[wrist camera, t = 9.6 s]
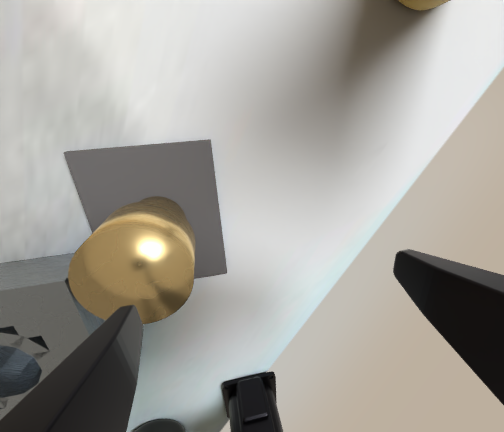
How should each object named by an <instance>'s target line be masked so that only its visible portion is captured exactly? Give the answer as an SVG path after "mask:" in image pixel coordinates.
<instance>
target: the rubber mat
mask: <svg viewBox="0 0 504 432" xmlns="http://www.w3.org/2000/svg"><path fill="white" fill-rule="evenodd" d="M64 155H65V158H66V161H67V163H68V166H69V169H70V172H71V174H72V177H73V180H74V183H75V185H76V188H77V191H78V194H79V197H80V199H81V202H82V205H83V208H84V210H85V213H86V216H87V219H88V221H89V224H90V227H91V230H92V232H93V233H94V232H95V230H96V229H97V228H98V227H99V226H100V225H101V224H102V223H103V222H104V221H105V220H106V219H107V218H108V217H109V216H110V215H111V214H112V213H113V212H114V211H116V210H117V209H119V208H120V207H123V206H125V205H127V204H131V203H135V202H139V201H141V200H142V199H145V198H148V197H152V196H160V197H165V198H168V199H171V200H173V201H174V202H176V203H177V204H178V205H179V206H180V207H181V208H182V209H183V211H184V213H185V215H186V220H187V221H188V222H189V224H190V226H191V227H192V229H193V232H194V235H195V242H196V243H195V263H194V279H195V278H201V277H208V276H214V275H220V274H226V273H227V267H226V259H225V251H224V243H223V235H222V227H221V220H220V212H219V204H218V196H217V188H216V180H215V172H214V164H213V156H212V148H211V140H199V141H187V142H175V143H163V144H151V145H139V146H127V147H115V148H103V149H91V150H78V151H67V152H64Z"/></svg>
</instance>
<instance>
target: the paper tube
mask: <svg viewBox="0 0 504 432" xmlns="http://www.w3.org/2000/svg"><path fill="white" fill-rule="evenodd" d="M398 1H399V2H401V3H402V4H403V5H405V6H406V7H408V8H411V9H414V10H428V9H431V8H435V7H437V6H439V5H441V4H444V3H446V2H448V1H450V0H398Z"/></svg>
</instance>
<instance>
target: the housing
mask: <svg viewBox="0 0 504 432" xmlns="http://www.w3.org/2000/svg"><path fill="white" fill-rule="evenodd" d="M74 254H75V253H72V254H65V255H57V256H50V257H43V258H36V259H29V260H22V261H14V262H7V263H0V420H1V419H2V418H3V417H4V416H5V415H6V414H7V413H8V412H9V411H10V410H11V409H12V408H13V407H14V406H16V405H17V404H18V403H19V402H20V401H21V400H22V399H23V398H24V397H25V396H26V395H27V394H28V393H29V392H30V391H31V390H32V389H34V388H35V387H36V386H37V385H38V384H39V383H40V382H41V381H42V380H43V379H44V378H45V377H46V376H47V375H48V374H49V373H50V372H52V371H53V370H54V369H55V368H56V367H57V366H58V365H59V364H60V363H61V362H62V361H63V360H64V359H65V358H66V357H67V356H68V355H70V354H71V353H72V352H73V351H74V350H75V349H76V348H77V347H78V346H79V345H80V344H81V343H82V342H83V341H84V340H85V339H86V338H87V337H89V336H90V335H91V334H92V333H93V332H94V331H95V330H96V329H97V328H98V327H99V326H100V325H101V324H102V323H103V322H104V321H105V320H104V319H101V318H99V317H97V316H95V315H94V314H92V313H90V312H89V311H88V310H86V309H85V308H84V307H83V306H82V305H81V304H80V303H79V302H78V301H77V299H76V298H75V297H74V295H73V293H72V291H71V288H70V285H69V280H68V270H69V265H70V262H71V259H72V257H73V256H74Z"/></svg>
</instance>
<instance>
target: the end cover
mask: <svg viewBox="0 0 504 432" xmlns="http://www.w3.org/2000/svg"><path fill="white" fill-rule="evenodd" d="M195 243H196V242H195V235H194V232H193V229H192V227H191V226H190V224H189V222H188V221H187V220H186V215H185V213H184V211H183V209H182V208H181V207H180V206H179V205H178V204H177V203H176V202H174V201H173V200H171V199H168V198H165V197H160V196H152V197H148V198H145V199H142V200H141V201H139V202H135V203H131V204H127V205H125V206H123V207H120V208H119V209H117V210H116V211H114V212H113V213H112V214H111V215H110V216H109V217H108V218H107V219H106V220H105V221H104V222H103V223H102V224H101V225H100V226H99V227H98V228H97V229H96V230H95V232H94V233H93V234H92V235H91V236H90V237H89V238H88V239H87V240H86V241H85V242H84V243H83V244H82V245H81V246H80V248H79V249H78V250H77V251H76V252H75V254H74V256H73V257H72V259H71V262H70V265H69V270H68V280H69V285H70V288H71V291H72V293H73V295H74V297H75V298H76V299H77V301H78V302H79V303H80V304H81V305H82V306H83V307H84V308H85V309H86V310H88V311H89V312H90V313H92V314H94V315H95V316H97V317H99V318H101V319H104V320H107V319H108V318H109V317H110V316H111V315H112V314H113V313H114V312H115V311H116V310H117V309H118V308H120V307H122V306H127V305H132V304H133V305H135V306H136V308H137V310H138V313H139V316H140V318H141V321H142V324H148V323H152V322H156V321H159V320H162V319H164V318H166V317H168V316H170V315H171V314H173V313H174V312H176V311H177V310H178V309H179V308H180V307H181V306H182V305H183V304H184V303H185V302H186V300H187V299H188V297H189V295H190V293H191V291H192V288H193V282H194V263H195Z"/></svg>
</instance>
